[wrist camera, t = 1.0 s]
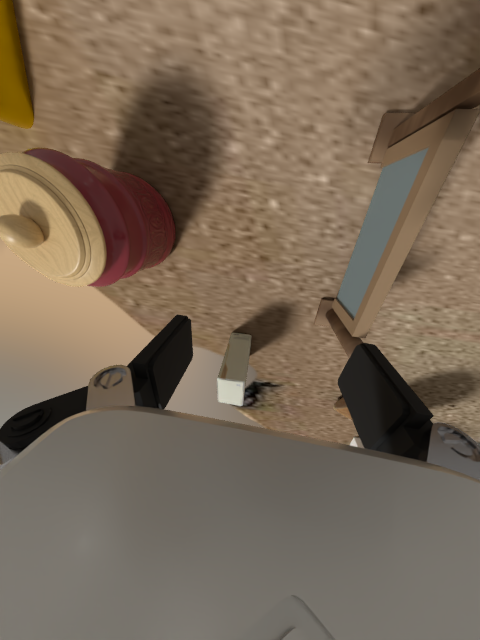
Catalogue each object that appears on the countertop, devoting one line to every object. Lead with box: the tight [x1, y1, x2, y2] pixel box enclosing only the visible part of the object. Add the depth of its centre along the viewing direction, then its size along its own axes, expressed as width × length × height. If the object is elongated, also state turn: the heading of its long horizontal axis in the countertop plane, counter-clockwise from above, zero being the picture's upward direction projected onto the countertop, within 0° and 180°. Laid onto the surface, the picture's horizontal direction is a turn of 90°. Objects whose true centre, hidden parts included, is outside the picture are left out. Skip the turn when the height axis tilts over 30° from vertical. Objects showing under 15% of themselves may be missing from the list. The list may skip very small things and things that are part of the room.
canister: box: [0, 148, 176, 287], centre depth 22 cm, size 13×13×18 cm
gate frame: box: [314, 68, 480, 358], centre depth 20 cm, size 27×5×14 cm, turn 177°
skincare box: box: [217, 333, 251, 406], centre depth 33 cm, size 6×4×12 cm
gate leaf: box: [332, 109, 480, 338], centre depth 21 cm, size 20×2×9 cm, turn 177°
